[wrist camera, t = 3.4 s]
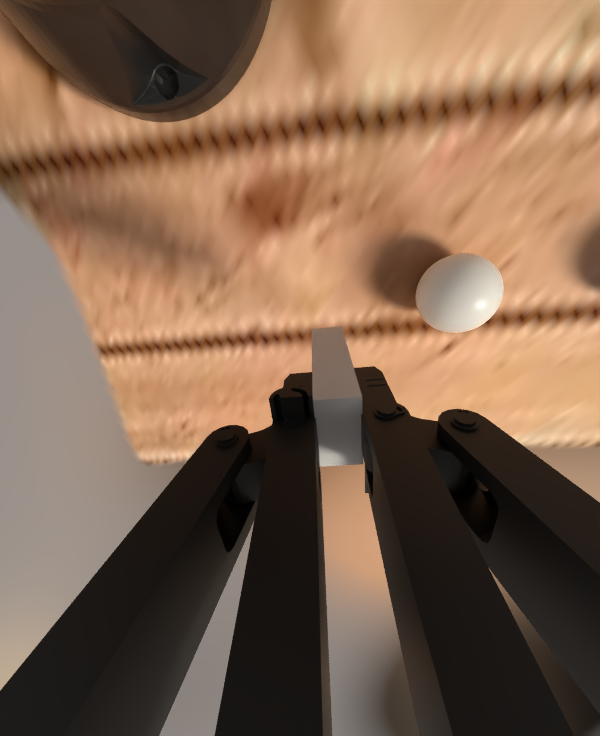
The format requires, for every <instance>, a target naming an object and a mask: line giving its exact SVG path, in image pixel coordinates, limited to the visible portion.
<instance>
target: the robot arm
mask: <svg viewBox="0 0 600 736" xmlns="http://www.w3.org/2000/svg"><path fill="white" fill-rule="evenodd" d="M270 5H271V0H0V10H1V11H2V12H3V13H4V14H5V16H6V17H7V18H8V19H9V20H10V21H11V22H12V24H13V25H14V26H15V27H16V28H17V29H18V31H19V32H20V33H21V34H22V35H23V36H24V37H25V39H26V40H27V41H28V42H29V43H30V44H31V46H32V47H33V48H34V49H35V50H36V51H37V52H38V53H39V54H40V55H41V56H42V57H43V58H44V59H45V60H46V61H47V62H48V63H49V64H50V65H51V66H52V67H53V68H54V69H55V70H57V71H58V72H59V73H60V74H61V75H63V76H64V77H65V78H66V79H67V80H69V81H70V82H71V83H72V84H74V85H75V86H77V87H78V88H79V89H81V90H82V91H84V92H85V93H87V94H89V95H90V96H92V97H94V98H96V99H97V100H99V101H101V102H103V103H105V104H106V105H108V106H110V107H112V108H114V109H116V110H117V111H120V112H122V113H124V114H126V115H129V116H132V117H135V118H138V119H142V120H147V121H153V122H175V121H181V120H185V119H189V118H192V117H195V116H197V115H199V114H202V113H203V112H205V111H207V110H209V109H210V108H212V107H213V106H215V105H216V104H218V103H219V102H220V101H221V100H222V99H223V98H225V97H226V96H227V95H228V94H229V93H230V92H231V90H232V89H233V88H234V87H235V86H236V84H237V83H238V82H239V80H240V79H241V78H242V76H243V75H244V73H245V72H246V70H247V68H248V67H249V65H250V63H251V61H252V59H253V57H254V55H255V53H256V50H257V48H258V46H259V43H260V41H261V38H262V35H263V32H264V29H265V25H266V22H267V18H268V14H269V10H270ZM269 402H270V408H271V413H272V419H273V423H272V425H271V426H269V427H268V428H266V429H263V430H261V431H258V432H254V433H251V434H248V430H247V429H245V428H244V427H242V426H238V425H229V426H225V427H221V428H219V429H217V430H215V431H213V432H212V433H211V434H210V435H209V436H208V437H207V438H206V439H205V440H204V442H203V443H202V444H201V445H200V446H199V448H198V449H197V450H196V451H195V453H194V454H193V455H192V456H191V458H190V459H189V460H188V461H187V462H186V464H185V465H184V466H183V468H182V469H181V470H180V471H179V472H178V473H177V475H176V476H175V477H174V478H173V480H172V481H171V482H170V483H169V485H168V486H167V487H166V488H165V489H164V491H163V492H162V493H161V494H160V496H159V497H158V498H157V499H156V500H155V502H154V503H153V504H152V505H151V507H150V508H149V509H148V510H147V512H146V513H145V514H144V515H143V517H142V518H141V519H140V520H139V521H138V523H137V524H136V525H135V526H134V527H133V529H132V530H131V531H130V532H129V534H128V535H127V536H126V537H125V538H124V540H123V541H122V542H121V544H120V545H119V546H118V547H117V548H116V550H115V551H114V552H113V553H112V554H111V556H110V557H109V558H108V559H107V561H106V562H105V563H104V564H103V565H102V567H101V568H100V569H99V570H98V572H97V573H96V574H95V575H94V576H93V578H92V579H91V580H90V581H89V583H88V584H87V585H86V586H85V588H84V589H83V590H82V591H81V593H80V594H79V595H78V596H77V597H76V599H75V600H74V601H73V602H72V604H71V605H70V606H69V607H68V608H67V610H66V611H65V612H64V613H63V615H62V616H61V617H60V618H59V619H58V621H57V622H56V623H55V624H54V626H53V627H52V628H51V629H50V630H49V632H48V633H47V634H46V636H45V637H44V638H43V639H42V640H41V642H40V643H39V644H38V646H37V647H36V648H35V649H34V650H33V651H32V653H31V654H30V655H29V656H28V658H27V659H26V660H25V661H24V662H23V664H22V665H21V666H20V667H19V668H18V670H17V671H16V673H14V675H13V676H12V677H11V678H10V680H9V681H8V682H7V683H6V685H5V686H4V687H3V688H2V689H1V691H0V736H159V734H160V732H161V730H162V728H163V725H164V723H165V721H166V719H167V716H168V714H169V712H170V710H171V707H172V705H173V703H174V701H175V698H176V696H177V694H178V691H179V689H180V687H181V685H182V682H183V680H184V678H185V676H186V673H187V671H188V669H189V667H190V664H191V662H192V660H193V657H194V655H195V653H196V651H197V648H198V646H199V644H200V642H201V639H202V637H203V635H204V633H205V630H206V628H207V626H208V624H209V621H210V619H211V617H212V615H213V612H214V610H215V608H216V606H217V603H218V601H219V599H220V596H221V594H222V592H223V590H224V587H225V585H226V583H227V580H228V578H229V576H230V574H231V572H232V569H233V567H234V565H235V563H236V560H237V558H238V556H239V554H240V551H241V549H242V547H243V545H244V542H245V540H246V538H247V536H248V533H249V531H250V528H251V526H252V524H253V522H254V526H253V532H252V537H251V542H250V548H249V553H248V558H247V564H246V569H245V575H244V580H243V585H242V591H241V597H240V602H239V607H238V613H237V618H236V623H235V629H234V635H233V640H232V645H231V650H230V656H229V662H228V667H227V672H226V677H225V683H224V689H223V694H222V699H221V704H220V710H219V716H218V721H217V726H216V732H215V736H332V721H331V720H332V719H331V696H330V673H329V650H328V629H327V605H326V584H325V583H326V582H325V559H324V539H323V538H324V537H323V514H322V492H321V475H320V466H338V465H355V464H363V458H364V462H365V493H369V498H370V502H371V507H372V512H373V517H374V521H375V525H376V531H377V536H378V540H379V545H380V550H381V554H382V559H383V564H384V568H385V574H386V578H387V583H388V588H389V593H390V597H391V602H392V606H393V612H394V616H395V621H396V626H397V630H398V635H399V640H400V645H401V650H402V654H403V659H404V664H405V669H406V673H407V678H408V683H409V687H410V692H411V697H412V702H413V707H414V711H415V716H416V721H417V726H418V731H419V735H420V736H574V734H573V732H572V731H571V728H570V726H569V725H568V723H567V721H566V719H565V717H564V715H563V713H562V711H561V709H560V707H559V706H558V703H557V701H556V699H555V697H554V695H553V693H552V692H551V689H550V687H549V685H548V684H547V682H546V680H545V678H544V676H543V674H542V672H541V670H540V668H539V666H538V664H537V662H536V660H535V658H534V656H533V654H532V652H531V650H530V648H529V646H528V644H527V642H526V640H525V639H524V637H523V635H522V633H521V631H520V629H519V627H518V625H517V623H516V621H515V619H514V617H513V615H512V613H511V611H510V609H509V607H508V605H507V603H506V601H505V599H504V597H503V595H502V593H501V591H500V590H499V588H498V586H497V584H496V582H495V580H494V578H493V576H492V574H491V572H490V570H491V571H492V573H493V574H494V575H495V577H496V578H497V579H498V581H499V582H500V583H501V584H502V586H503V587H504V588H505V590H506V591H507V592H508V594H509V595H510V596H511V598H512V599H513V600H514V602H515V603H516V604H517V606H518V607H519V608H520V610H521V611H522V612H523V613H524V615H525V616H526V617H527V619H528V620H529V621H530V623H531V624H532V625H533V627H534V628H535V629H536V631H537V632H538V633H539V635H540V636H541V637H542V639H543V640H544V641H545V643H546V644H547V645H548V647H549V648H550V649H551V651H552V652H553V653H554V654H555V656H556V657H557V658H558V660H559V661H560V663H561V664H562V665H563V666H564V668H565V669H566V670H567V672H568V673H569V674H570V676H571V677H572V678H573V680H574V681H575V682H576V684H577V685H578V686H579V687H580V689H581V690H582V692H583V693H584V694H585V696H586V697H587V698H588V700H589V701H590V702H591V703H592V705H593V706H594V707H595V709H596V710H597V711H598V713H599V714H600V503H599V502H598V501H597V500H595V499H594V498H593V497H591V496H590V495H589V494H587V493H586V492H585V491H583V490H582V489H581V488H579V487H578V486H576V485H575V484H574V483H572V482H571V481H570V480H568V479H567V478H566V477H564V476H563V475H561V474H560V473H559V472H558V471H556V470H555V469H553V468H552V467H551V466H549V465H548V464H547V463H546V462H544V461H543V460H542V459H540V458H539V457H537V456H536V455H535V454H533V453H532V452H531V451H529V450H528V449H527V448H525V447H524V446H523V445H521V444H520V443H519V442H517V441H516V440H515V439H513V438H512V437H511V436H509V435H508V434H507V433H505V432H504V431H502V430H501V429H500V428H498V427H497V426H496V425H494V424H493V423H492V422H490V421H489V420H488V419H486V418H485V417H483V416H481V415H479V414H478V413H475V412H472V411H469V410H462V409H452V410H447V411H445V412H442V413H441V415H440V416H439V418H438V421H432V420H425V419H419V418H415V417H412V416H411V415H410V413H409V411H408V410H407V409H406V408H405V407H404V406H402V405H400V404H398V403H397V402H396V400H395V398H394V396H393V394H392V392H391V390H390V388H389V386H388V384H387V381H386V380H385V377H384V375H383V373H382V372H381V371H380V370H379V369H377V368H376V367H374V366H373V367H361V368H354V367H353V364H352V361H351V357H350V354H349V350H348V347H347V344H346V340H345V337H344V333H343V330H342V327H331V328H320V329H312V372H309V373H296V374H290V375H289V376H288V377H287V378H286V379H285V380H284V386H283V388H281V389H279V390H277V391H275V392H274V393H272V394H271V396H270V398H269ZM488 567H489V568H488ZM489 569H490V570H489Z"/></svg>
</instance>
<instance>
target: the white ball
mask: <svg viewBox="0 0 600 736" xmlns="http://www.w3.org/2000/svg"><path fill="white" fill-rule="evenodd" d="M503 290H504V286H503V280H502V277H501V274H500V272H499V270H498V269H497V268H496V266H495V265H494V264H493V263H492V262H490V261H489V260H488V259H486V258H484V257H482V256H479V255H476V254H470V253H459V254H453V255H450V256H447V257H444V258H442V259H440V260H439V261H437V262H436V263H434V264H433V265H432V266H430V267H429V268H428V269H427V270H426V272H425V273H424V274H423V276H422V277H421V279H420V281H419V283H418V286H417V290H416V306H417V309H418V311H419V314H420V315H421V317H422V318H423V319H424V321H425V322H426V323H428V324H429V325H430V326H432V327H433V328H435V329H437V330H440V331H443V332H449V333H460V332H465V331H469V330H472V329H475V328H477V327H479V326H480V325H482V324H484V323H485V322H486V321H488V320H489V319H490V318H491V317H492V316H493V314H494V313H495V312H496V310H497V309H498V307H499V305H500V303H501V300H502V297H503Z"/></svg>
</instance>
